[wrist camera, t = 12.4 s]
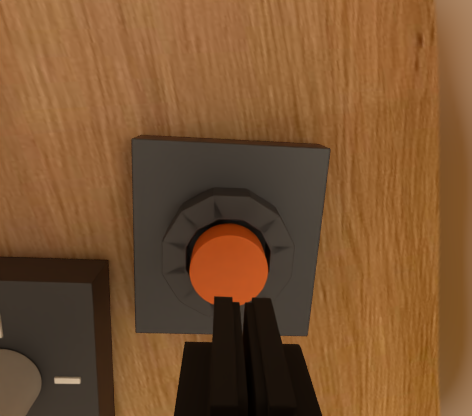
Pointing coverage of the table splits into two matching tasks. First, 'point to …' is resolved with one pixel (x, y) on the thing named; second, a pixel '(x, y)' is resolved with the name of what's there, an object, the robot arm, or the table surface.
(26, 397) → the temp dial
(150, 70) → the table surface
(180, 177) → the grey piece
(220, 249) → the button
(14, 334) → the dial console
